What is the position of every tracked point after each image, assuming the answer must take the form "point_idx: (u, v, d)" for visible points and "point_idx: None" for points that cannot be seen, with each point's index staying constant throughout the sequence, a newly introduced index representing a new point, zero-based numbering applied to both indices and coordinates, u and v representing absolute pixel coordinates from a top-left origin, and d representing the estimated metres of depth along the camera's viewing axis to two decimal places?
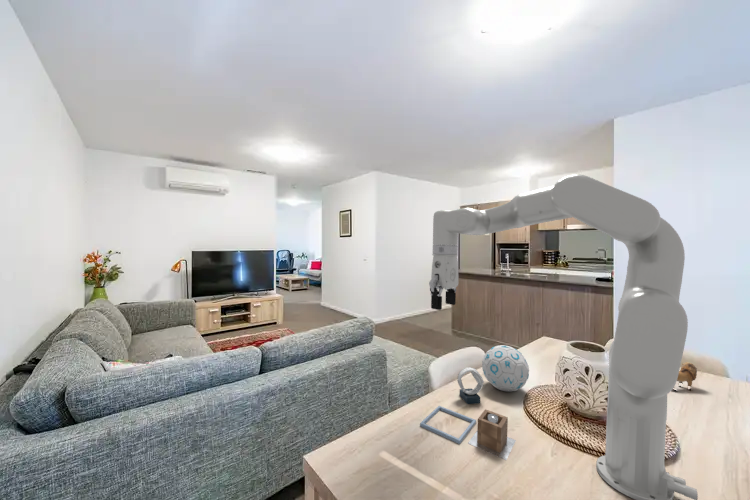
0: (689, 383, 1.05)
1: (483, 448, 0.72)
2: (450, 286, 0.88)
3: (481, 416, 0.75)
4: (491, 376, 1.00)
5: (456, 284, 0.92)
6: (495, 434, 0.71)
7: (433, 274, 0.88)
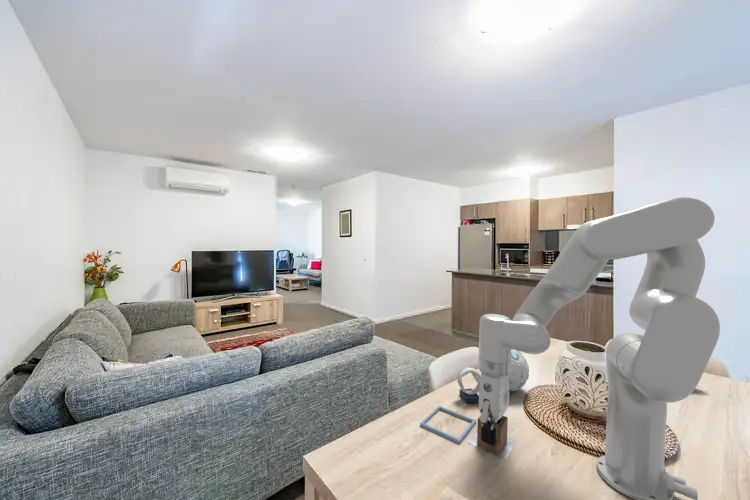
0: None
1: (483, 448, 0.72)
2: (503, 413, 0.71)
3: None
4: None
5: (508, 404, 0.75)
6: None
7: (482, 398, 0.71)
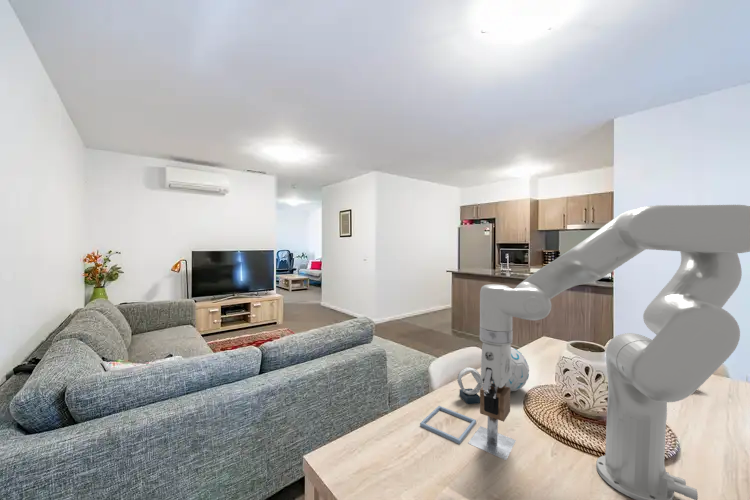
0: None
1: (483, 448, 0.72)
2: (505, 382, 0.71)
3: None
4: None
5: (510, 375, 0.74)
6: (498, 403, 0.71)
7: (484, 367, 0.71)
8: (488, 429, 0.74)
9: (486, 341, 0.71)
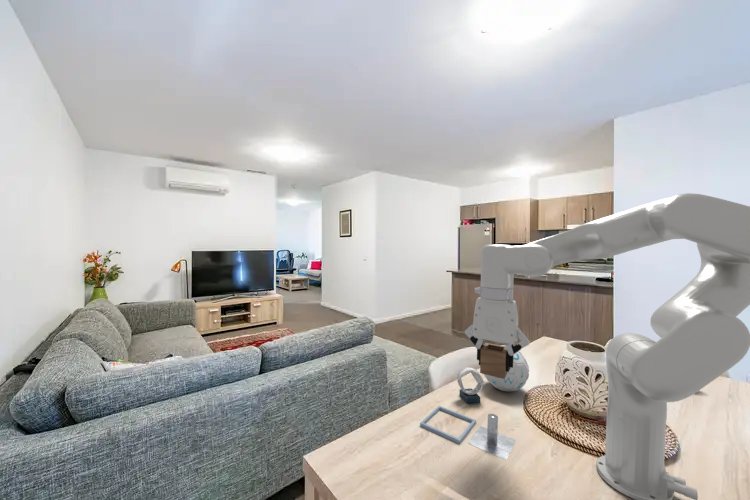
0: None
1: (483, 448, 0.72)
2: (486, 337, 0.72)
3: (492, 344, 0.76)
4: (491, 376, 1.00)
5: (505, 340, 0.70)
6: None
7: None
8: (488, 429, 0.74)
9: None
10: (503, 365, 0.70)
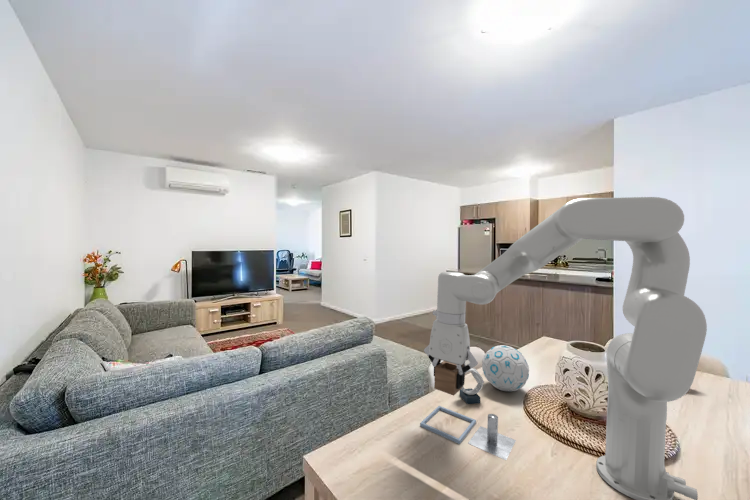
0: None
1: (483, 448, 0.72)
2: (439, 357, 0.79)
3: (448, 362, 0.83)
4: (491, 376, 1.00)
5: (455, 360, 0.77)
6: None
7: None
8: (488, 429, 0.74)
9: None
10: (453, 383, 0.77)
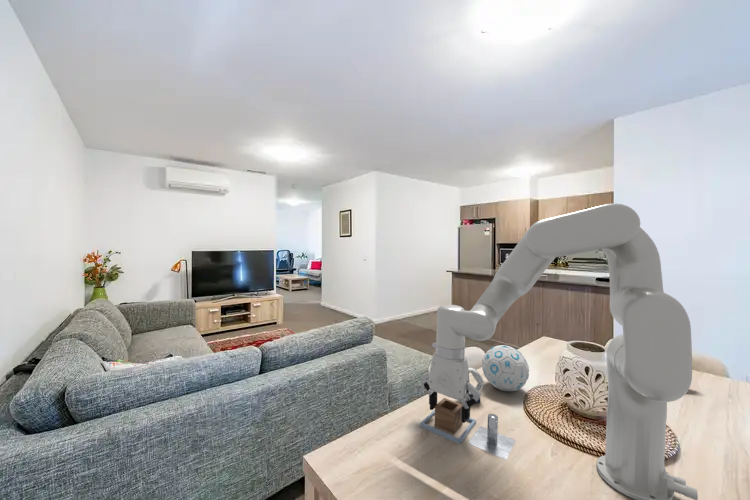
0: None
1: (483, 448, 0.72)
2: (439, 391, 0.80)
3: (448, 400, 0.84)
4: (491, 376, 1.00)
5: (454, 395, 0.77)
6: None
7: None
8: (488, 429, 0.74)
9: None
10: (453, 424, 0.77)
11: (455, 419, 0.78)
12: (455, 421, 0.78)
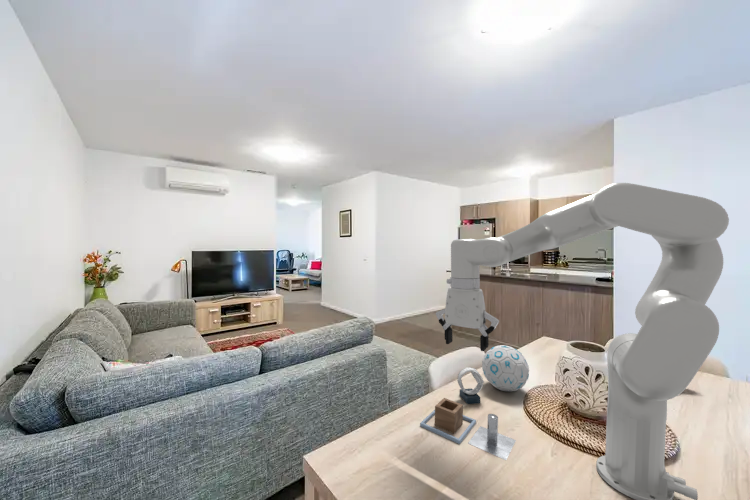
0: None
1: (483, 448, 0.72)
2: (456, 323, 0.80)
3: (448, 400, 0.84)
4: (491, 376, 1.00)
5: (472, 325, 0.78)
6: None
7: None
8: (488, 429, 0.74)
9: None
10: (453, 424, 0.77)
11: (455, 419, 0.78)
12: (455, 421, 0.78)
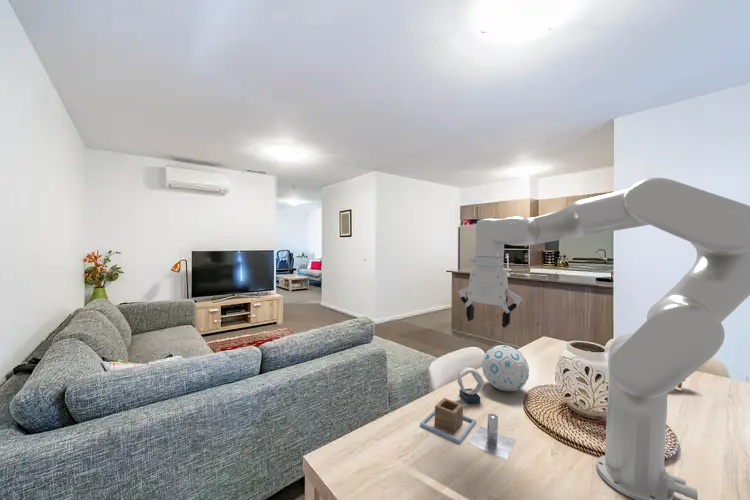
0: (679, 384, 1.04)
1: (483, 448, 0.72)
2: (478, 300, 0.83)
3: (448, 400, 0.84)
4: (491, 376, 1.00)
5: (495, 301, 0.80)
6: None
7: None
8: (488, 429, 0.74)
9: None
10: (453, 424, 0.77)
11: (455, 419, 0.78)
12: (455, 421, 0.78)
